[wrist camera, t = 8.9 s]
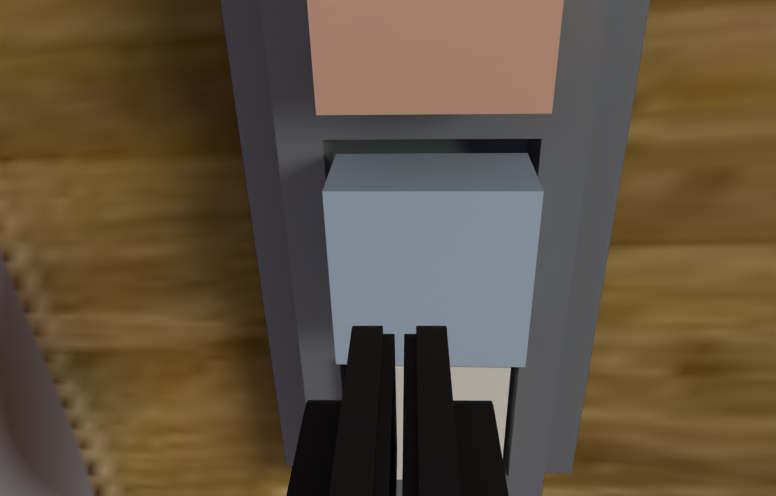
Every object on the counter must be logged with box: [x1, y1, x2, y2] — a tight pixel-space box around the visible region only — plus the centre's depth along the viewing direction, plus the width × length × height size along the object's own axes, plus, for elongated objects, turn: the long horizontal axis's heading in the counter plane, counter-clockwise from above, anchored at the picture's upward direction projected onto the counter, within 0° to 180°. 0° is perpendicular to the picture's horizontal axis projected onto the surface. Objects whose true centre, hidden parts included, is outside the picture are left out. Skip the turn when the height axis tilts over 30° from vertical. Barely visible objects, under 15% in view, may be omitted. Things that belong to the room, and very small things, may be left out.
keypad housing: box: [220, 0, 650, 496], centre depth 17 cm, size 29×11×3 cm, turn 1°
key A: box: [395, 365, 511, 480], centre depth 21 cm, size 5×5×2 cm
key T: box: [322, 153, 544, 367], centre depth 16 cm, size 5×5×2 cm
